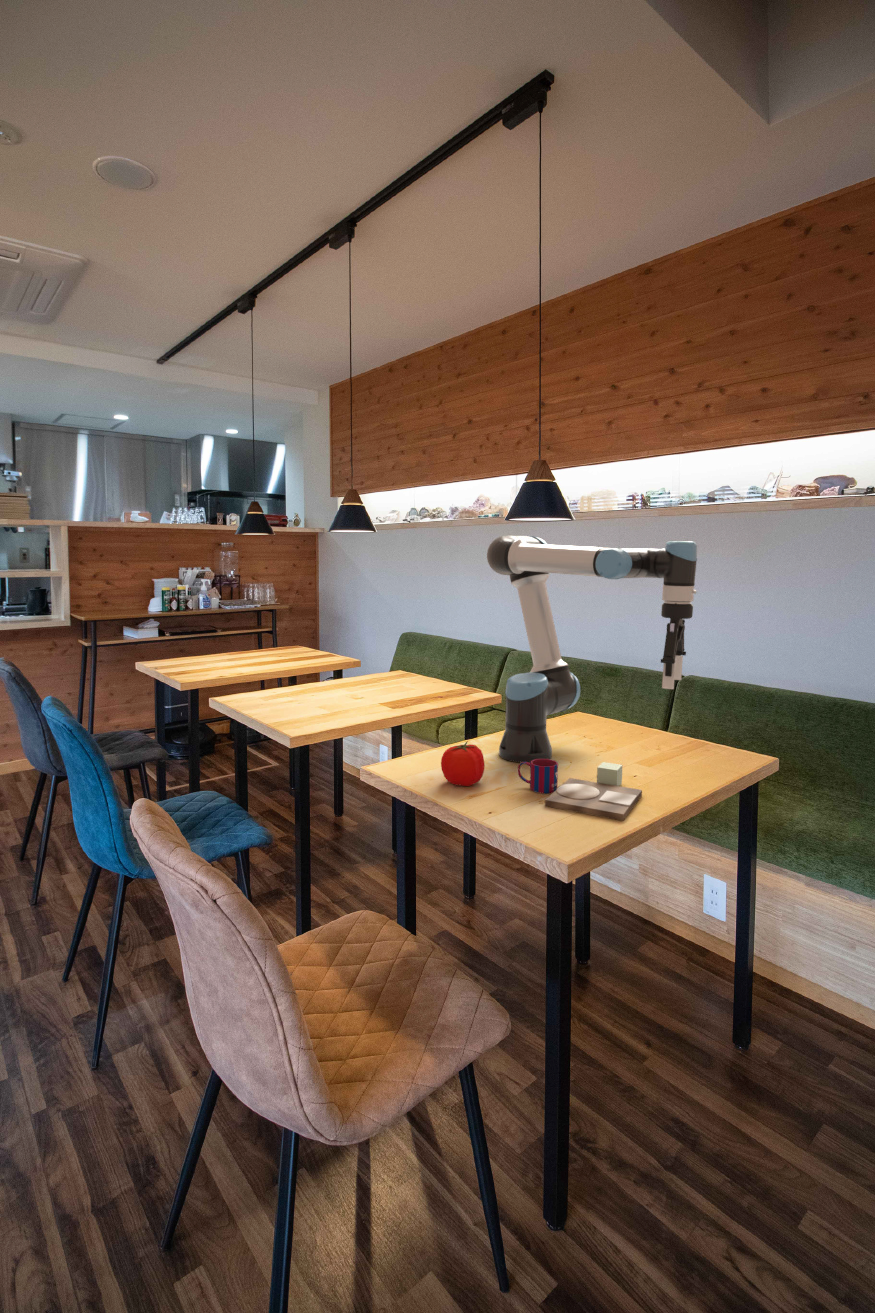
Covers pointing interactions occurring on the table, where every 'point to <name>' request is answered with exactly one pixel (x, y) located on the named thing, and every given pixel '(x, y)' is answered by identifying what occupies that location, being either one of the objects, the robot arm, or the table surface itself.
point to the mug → (542, 775)
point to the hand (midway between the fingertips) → (671, 684)
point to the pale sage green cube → (609, 774)
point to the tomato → (463, 764)
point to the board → (594, 798)
